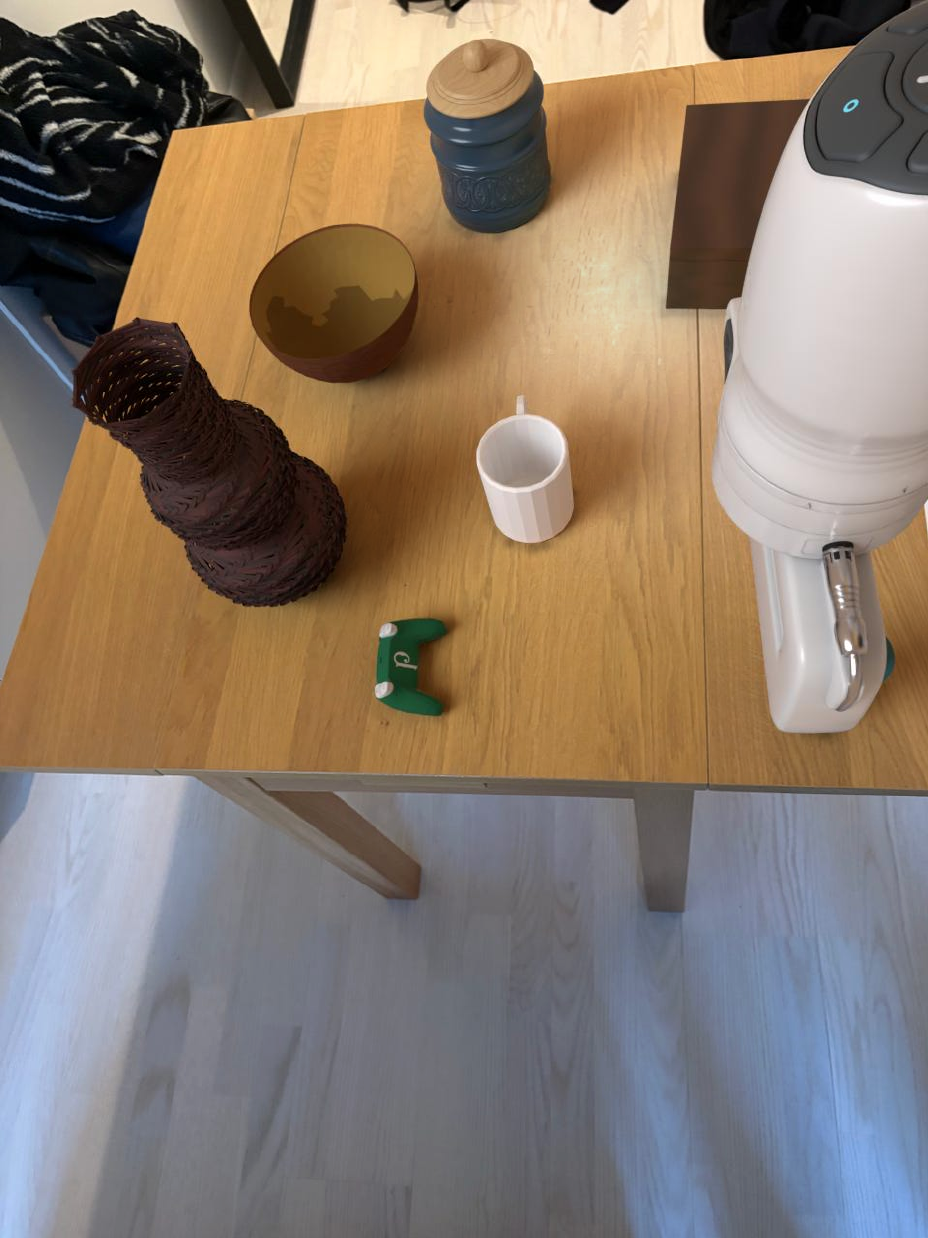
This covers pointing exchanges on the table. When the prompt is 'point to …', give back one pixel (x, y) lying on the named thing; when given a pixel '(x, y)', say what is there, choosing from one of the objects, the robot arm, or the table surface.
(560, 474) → the mug
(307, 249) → the bowl
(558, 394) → the table surface
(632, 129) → the table surface
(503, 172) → the canister
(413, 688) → the gaming controller
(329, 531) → the vase
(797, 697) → the robot arm
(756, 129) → the wooden box
